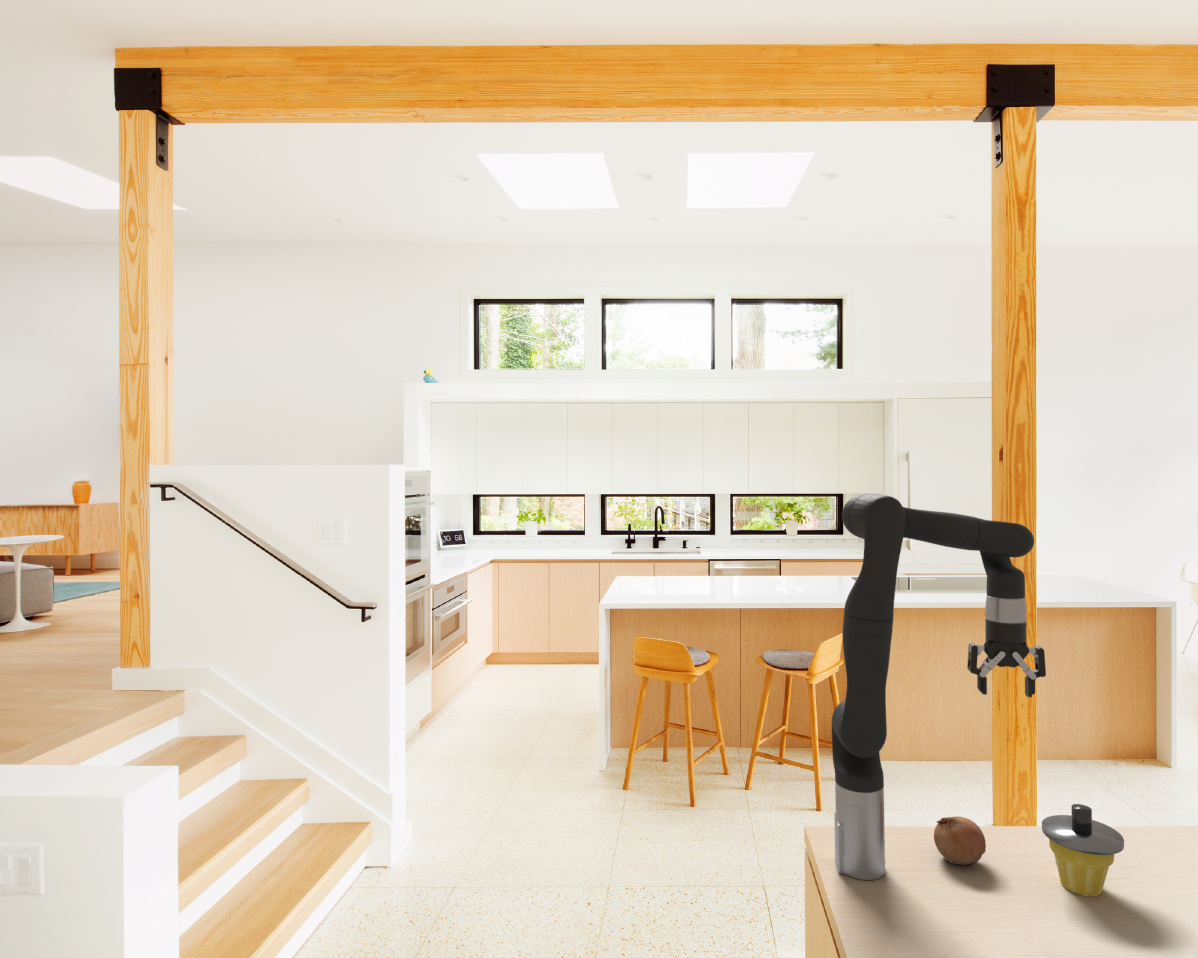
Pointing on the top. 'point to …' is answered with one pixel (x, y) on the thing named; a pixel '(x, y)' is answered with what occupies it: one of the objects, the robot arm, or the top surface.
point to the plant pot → (1081, 870)
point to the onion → (959, 840)
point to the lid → (1082, 832)
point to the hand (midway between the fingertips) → (1006, 694)
